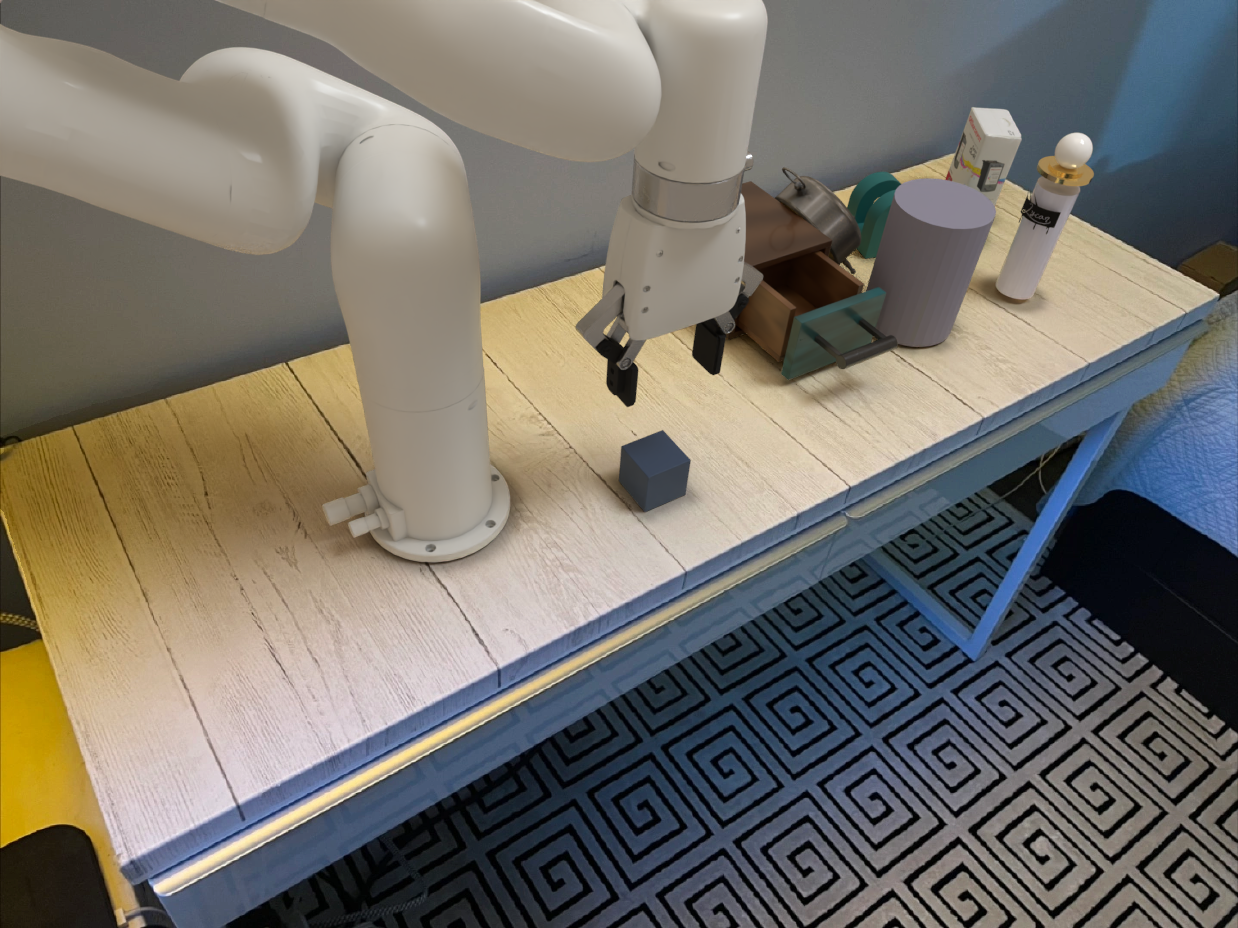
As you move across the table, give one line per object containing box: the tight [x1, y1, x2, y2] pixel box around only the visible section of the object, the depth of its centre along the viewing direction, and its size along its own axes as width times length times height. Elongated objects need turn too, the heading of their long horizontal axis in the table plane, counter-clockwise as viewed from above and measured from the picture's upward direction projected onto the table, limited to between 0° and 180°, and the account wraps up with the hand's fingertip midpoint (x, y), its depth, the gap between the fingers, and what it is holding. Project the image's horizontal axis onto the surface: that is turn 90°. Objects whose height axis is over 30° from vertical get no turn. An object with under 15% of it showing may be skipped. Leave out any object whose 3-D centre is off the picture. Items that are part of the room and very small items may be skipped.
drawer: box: [736, 250, 899, 381], centre depth 97 cm, size 18×11×7 cm, turn 32°
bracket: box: [846, 171, 902, 260], centre depth 116 cm, size 18×7×8 cm, turn 106°
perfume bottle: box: [994, 132, 1095, 300], centre depth 103 cm, size 6×6×20 cm
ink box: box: [944, 106, 1022, 207], centre depth 121 cm, size 9×5×12 cm, turn 177°
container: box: [865, 177, 997, 348], centre depth 100 cm, size 10×10×15 cm
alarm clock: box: [774, 166, 861, 275], centre depth 106 cm, size 11×5×16 cm
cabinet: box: [726, 180, 832, 341], centre depth 104 cm, size 15×13×9 cm
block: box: [618, 429, 692, 513], centre depth 83 cm, size 4×4×4 cm
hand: (664, 379), depth 75 cm, fingers open, 7 cm apart
